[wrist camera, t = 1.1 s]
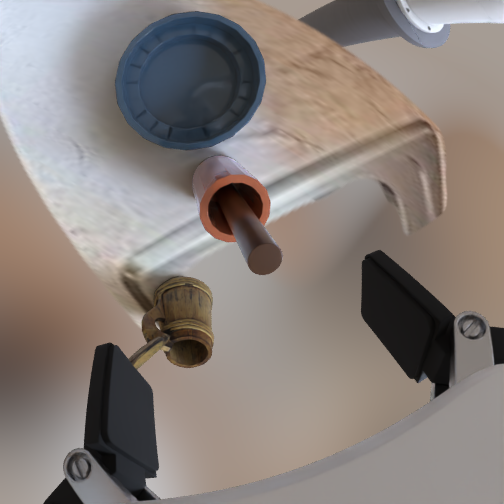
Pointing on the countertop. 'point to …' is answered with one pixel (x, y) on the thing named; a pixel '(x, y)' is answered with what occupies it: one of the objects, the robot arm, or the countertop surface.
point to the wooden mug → (178, 324)
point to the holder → (216, 176)
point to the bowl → (190, 80)
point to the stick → (249, 232)
